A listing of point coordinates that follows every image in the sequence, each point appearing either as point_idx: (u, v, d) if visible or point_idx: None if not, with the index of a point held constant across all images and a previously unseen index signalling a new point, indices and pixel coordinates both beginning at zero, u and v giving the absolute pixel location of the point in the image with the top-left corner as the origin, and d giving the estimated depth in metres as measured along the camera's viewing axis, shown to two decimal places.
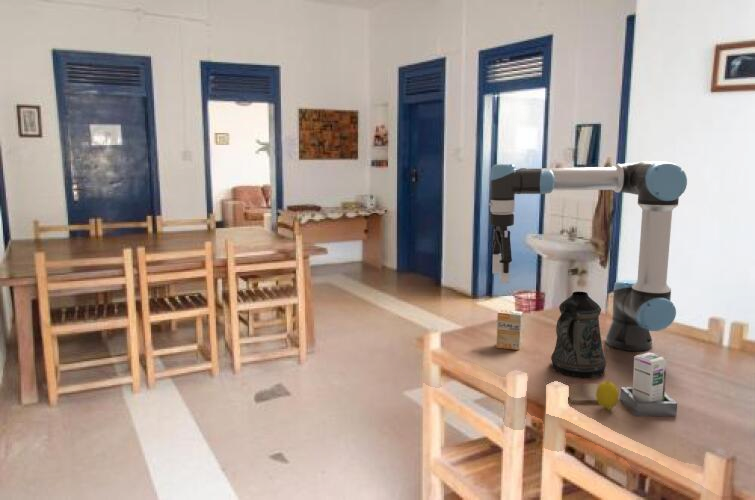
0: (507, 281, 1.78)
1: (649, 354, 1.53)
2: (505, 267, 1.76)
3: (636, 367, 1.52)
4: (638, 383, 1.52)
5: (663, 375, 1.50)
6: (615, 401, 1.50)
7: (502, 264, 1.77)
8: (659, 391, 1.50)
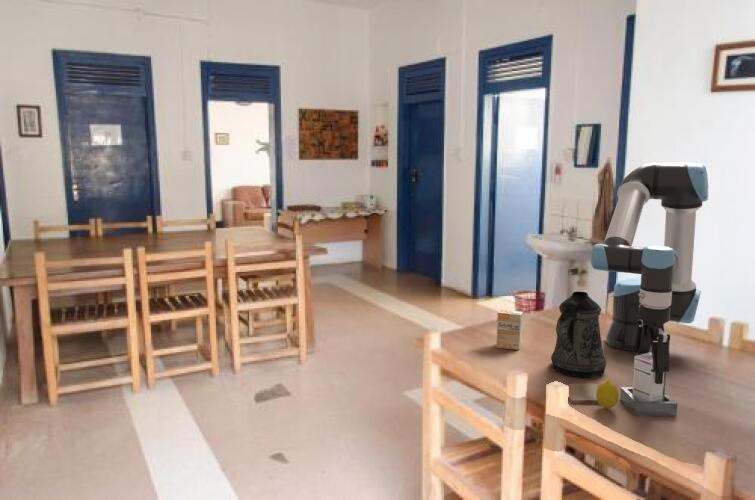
0: (659, 392, 1.48)
1: (649, 354, 1.53)
2: (659, 377, 1.46)
3: (636, 367, 1.52)
4: (638, 383, 1.52)
5: (663, 375, 1.50)
6: (615, 401, 1.50)
7: (654, 373, 1.47)
8: None
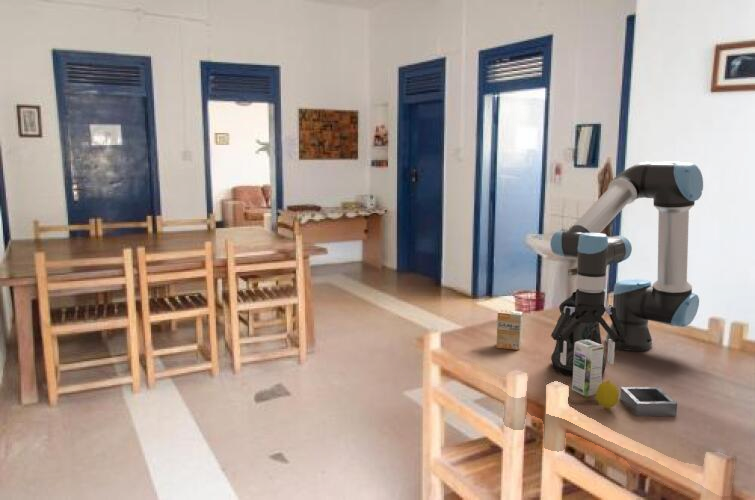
0: (562, 362, 1.59)
1: (595, 343, 1.59)
2: (558, 345, 1.59)
3: None
4: None
5: (585, 362, 1.57)
6: (615, 401, 1.50)
7: None
8: (580, 375, 1.59)
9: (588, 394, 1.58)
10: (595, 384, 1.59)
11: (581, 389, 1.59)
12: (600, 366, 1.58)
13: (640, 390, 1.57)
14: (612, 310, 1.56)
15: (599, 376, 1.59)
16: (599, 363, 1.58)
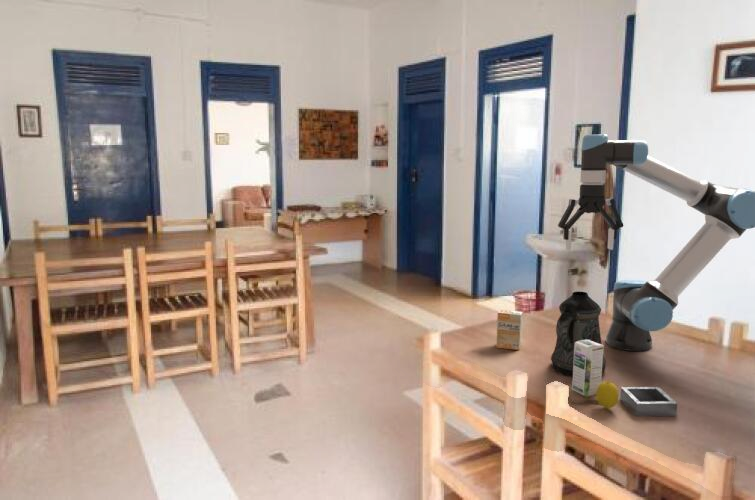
0: (567, 248, 1.84)
1: (595, 343, 1.59)
2: (564, 233, 1.84)
3: None
4: None
5: (585, 362, 1.57)
6: (615, 401, 1.50)
7: None
8: (580, 375, 1.59)
9: (588, 394, 1.58)
10: (595, 384, 1.59)
11: (581, 389, 1.59)
12: (600, 366, 1.58)
13: (640, 390, 1.57)
14: (611, 201, 1.81)
15: (599, 376, 1.59)
16: (599, 363, 1.58)
